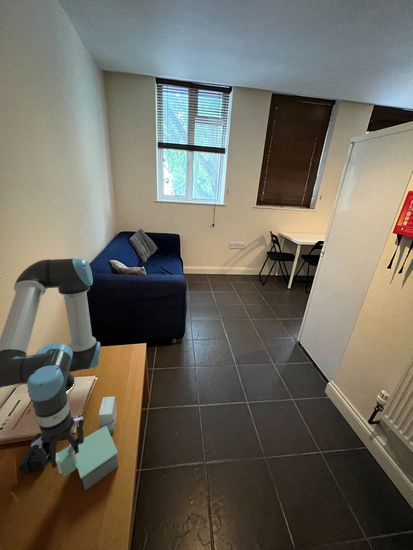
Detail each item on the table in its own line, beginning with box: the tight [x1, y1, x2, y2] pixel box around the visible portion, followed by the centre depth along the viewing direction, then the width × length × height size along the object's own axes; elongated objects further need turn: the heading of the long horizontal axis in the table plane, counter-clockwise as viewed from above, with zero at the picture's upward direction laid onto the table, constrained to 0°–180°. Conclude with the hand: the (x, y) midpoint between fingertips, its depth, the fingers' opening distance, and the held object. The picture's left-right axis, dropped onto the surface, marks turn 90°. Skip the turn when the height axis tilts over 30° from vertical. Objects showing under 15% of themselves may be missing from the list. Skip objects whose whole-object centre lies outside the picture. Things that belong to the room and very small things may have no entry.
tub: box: [81, 454, 119, 491], centre depth 80 cm, size 11×11×7 cm
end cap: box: [18, 432, 50, 474], centre depth 81 cm, size 10×7×7 cm
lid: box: [57, 425, 119, 480], centre depth 76 cm, size 12×16×8 cm
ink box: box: [98, 395, 118, 434], centre depth 92 cm, size 8×5×12 cm, turn 12°
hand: (67, 464), depth 73 cm, fingers closed on lid, 3 cm apart
